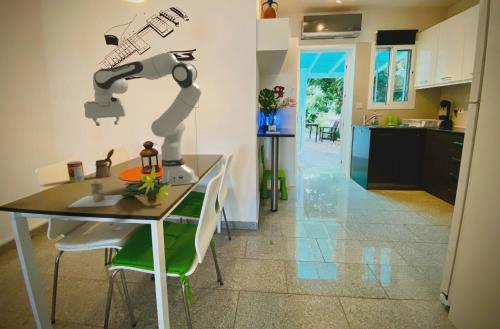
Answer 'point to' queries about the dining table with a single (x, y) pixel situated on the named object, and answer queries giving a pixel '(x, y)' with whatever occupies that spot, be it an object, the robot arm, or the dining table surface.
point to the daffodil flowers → (147, 186)
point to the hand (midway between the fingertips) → (107, 125)
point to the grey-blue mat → (88, 202)
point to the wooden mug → (104, 166)
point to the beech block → (97, 191)
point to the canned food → (75, 171)
